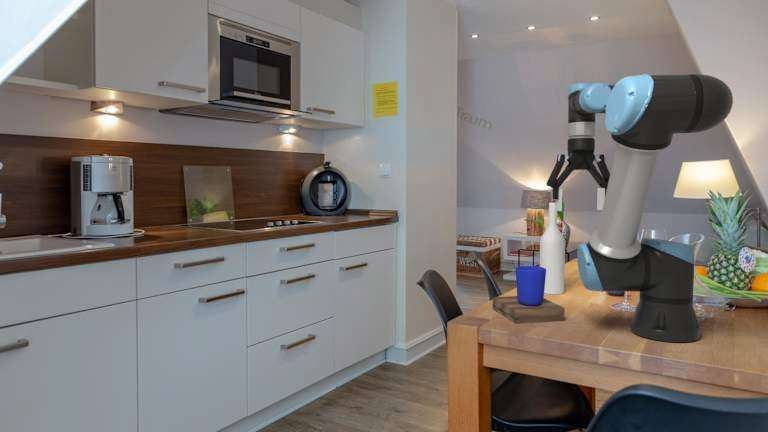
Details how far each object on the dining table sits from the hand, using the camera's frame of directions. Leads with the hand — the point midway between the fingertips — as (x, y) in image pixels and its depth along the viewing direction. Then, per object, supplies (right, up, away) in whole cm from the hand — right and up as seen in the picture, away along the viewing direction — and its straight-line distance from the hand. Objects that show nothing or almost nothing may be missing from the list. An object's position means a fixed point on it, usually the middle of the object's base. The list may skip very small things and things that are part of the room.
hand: (579, 210), depth 160 cm
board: (-17, -29, -7) cm, 35 cm away
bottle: (-1, -27, +22) cm, 35 cm away
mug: (-17, -26, -7) cm, 32 cm away
